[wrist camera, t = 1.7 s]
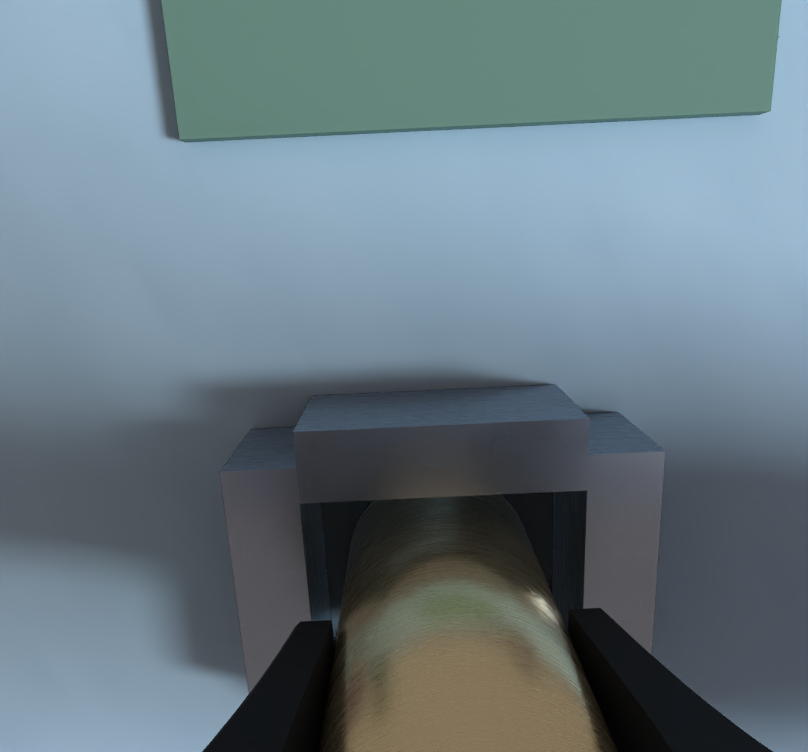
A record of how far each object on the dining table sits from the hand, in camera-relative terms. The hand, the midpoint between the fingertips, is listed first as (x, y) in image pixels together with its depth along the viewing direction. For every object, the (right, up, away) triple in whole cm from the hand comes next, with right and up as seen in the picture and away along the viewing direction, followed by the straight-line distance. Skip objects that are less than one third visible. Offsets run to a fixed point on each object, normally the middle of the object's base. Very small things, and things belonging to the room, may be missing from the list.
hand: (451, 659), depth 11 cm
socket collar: (0, +1, +3) cm, 4 cm away
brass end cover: (0, +1, +4) cm, 4 cm away
